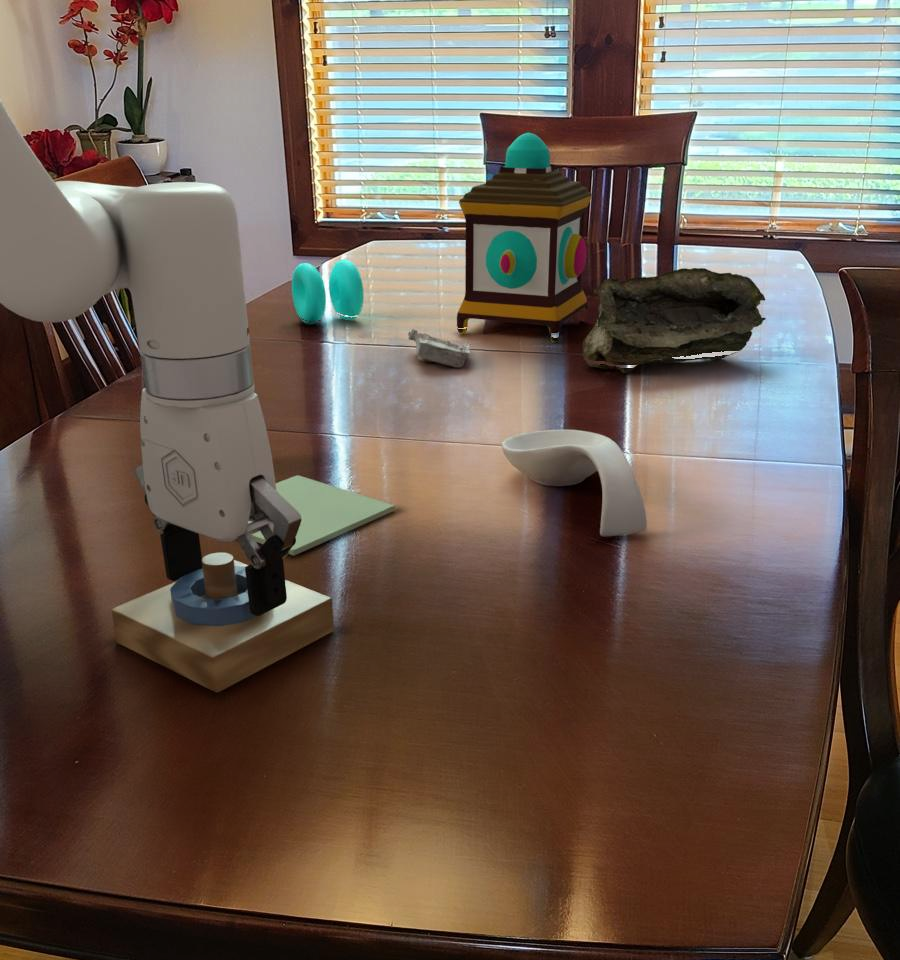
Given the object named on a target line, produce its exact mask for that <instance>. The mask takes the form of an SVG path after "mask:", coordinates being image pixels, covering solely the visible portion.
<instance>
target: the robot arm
mask: <svg viewBox="0 0 900 960" xmlns="http://www.w3.org/2000/svg"><path fill="white" fill-rule="evenodd" d="M238 220H239V219H238V214H237V207H236V204H235V201H234V199H233V197H232V195H231V194H230V192H228V190H226V189H225V188H224V187H222V186H219V185H217V184H214V183H209V182H200V181H199V182H197V181H177V182H160V183H152V184H147V185H146V184H145V185H140V186H126V185H125V186H124V185H115V184H113V185H112V184H105V183H97V182H89V181H79V180H59V181H58V180H57V181H55V180H54V179H53V178H52V176H51V175H50V173H49V172H48V170H47V169H45V167H44V165H43V164H42V162H41V161H40V159H39V158H38V157H37V156H36V154H35V152H34V151H33V150H32V148H31V146H30V145H29V144H28V142H27V141H26V138H24V136H23V134H22V133H21V131H20V130H19V128H18V127H17V125H16V123H15V122H14V121H13V118H12V117H11V115H10V113H9V111H8V110H7V108H6V106H5V104H4V103H3V100H2V99H1V98H0V304H1V305H2V307H4V308H6V309H8V310H9V311H11V312H13V313H14V314H16V315H18V316H20V317H21V318H25V319H27V320H30V321H33V322H40V323H50V324H51V323H62V322H67V321H69V320H73V319H76V318H77V317H80V316H81V315H83V314H84V313H86V312H87V311H88V310H90V309H91V308H92V307H93V306H94V305H95V304H96V303H97V302H99V300H100V299H101V298H102V297H104V296H105V295H108V294H109V293H112V292H114V291H116V290H120V289H128V290H129V292H130V295H131V301H132V302H131V303H132V309H133V315H134V321H135V328H136V335H137V342H138V349H139V356H140V364H141V370H142V371H141V372H142V377H143V383H144V387H143V389H142V390H141V395H140V409H139V410H140V411H139V412H140V413H139V416H140V417H139V419H140V420H139V426H140V427H139V428H140V431H139V433H140V447H141V461H142V464H140V465H139V466H137V467H136V468H135V470H134V471H135V472H134V473H135V475H136V478H137V481H138V482H139V484H140V487H141V490H142V492H143V493H145V494H144V502H145V504H146V505H147V507H148V509H149V510H150V511H151V513H152V515H153V516H154V518H153V526H154V528H155V530H156V531H157V532H159V533H160V534H159V536H160V543H161V549H162V555H163V556H162V557H163V563H164V569H165V575H166V578H167V580H169V581H172V582H176V581H177V580H178V579H179V578H180V577H182V576H185V575H187V574H189V573H192V572H194V571H197V570H199V569H203V568H202V558H203V554H202V547H201V540H200V539H201V538H200V535H201V536H204V537H207V538H210V539H212V540H216V541H218V542H223V543H230V542H233V541H235V540H236V541H237V543H238V544H239V547H240V548H241V550H242V551H243V553H244V555H245V557H246V558H247V560H248V561H249V563H250V564H247V565H248V566H246V567H245V573H246V582H247V591H248V599H249V608H250V612H251V614H253V615H255V616H260V615H262V614H264V613H266V612H268V611H270V610H272V609H274V608H276V607H278V606H280V605H282V604H284V603H285V602H286V600H287V594H286V584H285V580H286V576H285V565H284V558H287V557H288V556H289V555H290V554H289V550H290V549H291V548H292V547H293V546H294V545H295V543H296V535H297V532H298V529H299V527H300V524H301V520H302V519H301V515H300V514H299V512H298V511H297V510H296V509H295V508H294V507H293V506H291V505H290V504H289V503H288V502H287V501H286V500H285V499H284V498H283V497H282V496H281V495H280V494H279V493H278V492H277V491H276V484H275V483H276V476H275V470H274V462H273V455H272V451H271V445H270V440H269V436H268V432H267V431H268V430H267V426H266V422H265V418H264V414H263V411H262V406H261V403H260V399H259V397H258V394H257V393H255V389H256V388H255V387H256V386H255V379H254V370H253V369H254V368H253V360H252V359H253V357H252V349H251V343H250V331H249V330H250V329H249V321H248V320H249V319H248V313H247V303H246V302H247V299H246V290H245V289H246V288H245V279H244V270H243V260H242V252H241V240H240V239H241V238H240V231H239V222H238ZM248 520H249V521H252V523H249V524H248ZM259 531H261V533H262V535H263V536H264V538H265V540H266V542H265V543H264V544H261V546H259V543H258V542H256V541H255V539H254V537H253V536H252V534H254V533H256V532H259Z"/></svg>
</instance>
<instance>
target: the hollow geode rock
mask: <svg viewBox="0 0 900 960" xmlns="http://www.w3.org/2000/svg"><path fill="white" fill-rule="evenodd" d="M593 295H597V296H598V299H599V302H600V303H599V304H598V306H597V310H598V313H599V314H598V318H597V320H596V322H595V324H594V326H593V328H592V329H591V330H590V332H589V333H588V334H587V335H586V337H585V338H584V339H583V341H582V355H583V359H584V358H585V359H588V360H592V361H605V362H608V363H610V364H613V365H638V364H640V365H641V363H642V364H649V363H650V362H651V361H656V360H661V361H663V362H664V363H679V362H680V363H684V362H687V361H698V360H704V361H705V360H711V361H713V360H716V359H718V360H723V359H722V358H724V359H725V358H726V357H729V356H731V355H733V354H731V355H722V356H715V357H702V358H695V359H674V358H672V357H680V356H684V357H686V356H691V355H697V354H698V355H699V354H702V353H712V352H721V351H722V352H724V351H739V352H740V351H742V350H743V349H744V348H745V347H746V346H747V343H748V342H749V341H750V339H751V337H752V335H753V332H752V331H753V330H754V328H758V327H759V326H761V325H762V324H763V322H764V321H766V317H762V314H761V313H760V310H759V308H758V306H759V305H760V304H761V302H762V301H766V297H765V295H764V294H763V293H762V292H761V290H760V289H759V287H758V286H757V285H756V283H755V282H754V281H753V280H752V279H751V278H750V277H748V276H744V275H742V274H737V273H735V274H733V273H731V272H722V273H719V272H716V271H712V270H710V269H707V268H705V267H704V268H703V267H700V268H699V267H698V268H697V267H691V268H687V267H686V268H683V267H682V268H679V269H674V270H671V271H667V272H664V273H662V274H660V275H656V276H648V277H647V276H641V277H639V276H638V277H637V276H636V277H632V278H629V279H626V280H621V279H619V278H615V277H609V278H606V279H604V280H602V282H600V283H599V285H598V286H597V287H596V288H595V289H594V290H593ZM585 359H584V360H585ZM586 363H587V365H588V366H590V367H592V368H598V369H602V370H607V371H608V370H609V371H610V370H613V371H618V372H621V373H623V374H626V373H628V372H630V371H633V370H634V369H635V368H620V367H616V366H609V365H606V364H600V365H598V364H592V363H588V362H586ZM638 366H639V365H638Z"/></svg>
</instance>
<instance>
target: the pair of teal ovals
mask: <svg viewBox="0 0 900 960" xmlns="http://www.w3.org/2000/svg"><path fill="white" fill-rule="evenodd" d="M363 285H364V284H363V280H362V276H361V274H360V271H359V269H358V268H357V266H356V264H355V263H353V262H352V260H349V259H340V260H338V261H337V262H335V264H334V265H333V267H332V268H331V271H330V273H329V279H328V291H329V297H330V302H331V304H332V308H333V310H334V311H335V312H336V313H337V312H338V313H340V314H343V315H348V316H355V315H359V316H360V315H361V312H362V310H363V306H364V297H365V296H364V295H365V293H364V286H363ZM291 297H292V302H293V305H294V309H295V312H296V314H297V316H298V318H299V317H300V318H299V319H300V321H302V323H304V324H306V325H309V326H312V325H315V324H317V323H319V322H320V321H321V320H320V319H322V318H323V316H324V314H325V311H326V307H327V306H326V305H327V296H326V288H325V282H324V280H323V278H322V275H321V273H320V271H319V270H318V268H316V267H315V266H314V265H312V264H311V263H308V262H302V263H299V264H297V266H296V267H295V269H294V271H293V273H292V277H291ZM337 315H338V316H339V317H340V318H341V319H343V320H345V321H354V320H356V319H357V318H358V317H352V318H351V317H344V316H341V315H339V314H337ZM301 318H302V319H304V320H302V319H301ZM305 320H307V321H305ZM318 320H320V321H318ZM309 321H317V322H309Z"/></svg>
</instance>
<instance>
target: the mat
mask: <svg viewBox="0 0 900 960" xmlns="http://www.w3.org/2000/svg"><path fill="white" fill-rule="evenodd" d="M275 484H276V491H277V492H278V493H279V494H280V495H281V496H282V497H283V498H284V499H285V500H286V501H287V502H288V503H289V504H290V505H291V506H293V507H294V508H295V509H296V510H297V511H298V512H299V514H300V515H301V519H302V520H301V524H300V527H299V529H298V532H297V535H296V543H295V545H294V546H293V547H292V548H291V549H290V550H289V554H288V555H290V556H292V557H293V556H297V555H300V554H301V553H303V552H306V551H308V550H310V549H312V548H314V547H317V546H319V545H321V544H324V543H326V542H328V541H330V540H333V539H334V538H335V539H336V538H337V537H339V536H341V535H343V534H346V533H348V532H350V531H352V530H355V529H357V528H359V527H361V526H364V525H366V524H368V523H370V522H372V521H375V520H377V519H379V518H381V517H384V516H386V515H388V514H391V513H393V512H395V511H396V505H394V504H392V503H390V502H389V503H388V502H385V501H382V500H379V499H376V498H373V497H370V496H367V495H363V494H359V493H356V492H354V491H350V490H347V489H344V488H340V487H337V486H334V485H330V484H327V483H325V482H321V481H318V480H315V479H311V478H308V477H306V476H305V477H304V476H302V475H299V474H297V475H294V476H292V477H289V478H286V479H284V480H281V481H278V482H275ZM249 523H252V521H249V520H248V524H249ZM252 536H253V537H254V539H255V541H256V542H257V544H261V545H263V544H264V543H265V542H266V540H265V538H264V536H263V535H262V533H261V531H259V532H256V533H254V534H252Z"/></svg>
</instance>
